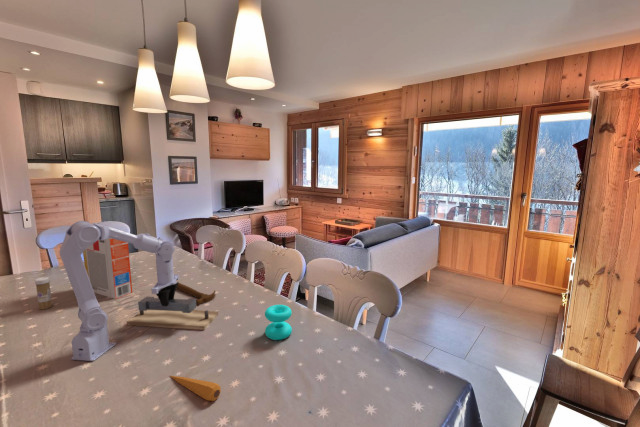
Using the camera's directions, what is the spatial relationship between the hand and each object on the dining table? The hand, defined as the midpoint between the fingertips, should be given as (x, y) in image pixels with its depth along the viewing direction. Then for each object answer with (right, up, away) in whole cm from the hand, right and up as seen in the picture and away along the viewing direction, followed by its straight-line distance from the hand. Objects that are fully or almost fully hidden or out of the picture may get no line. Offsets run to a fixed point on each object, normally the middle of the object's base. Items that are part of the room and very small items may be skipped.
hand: (167, 303), depth 116 cm
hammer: (-3, -5, +30) cm, 31 cm away
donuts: (+45, -10, -5) cm, 46 cm away
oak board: (0, -8, +4) cm, 9 cm away
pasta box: (-45, -4, +31) cm, 55 cm away
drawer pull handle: (0, -2, 0) cm, 2 cm away
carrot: (+24, -14, -32) cm, 43 cm away
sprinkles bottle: (-61, -6, +14) cm, 63 cm away
